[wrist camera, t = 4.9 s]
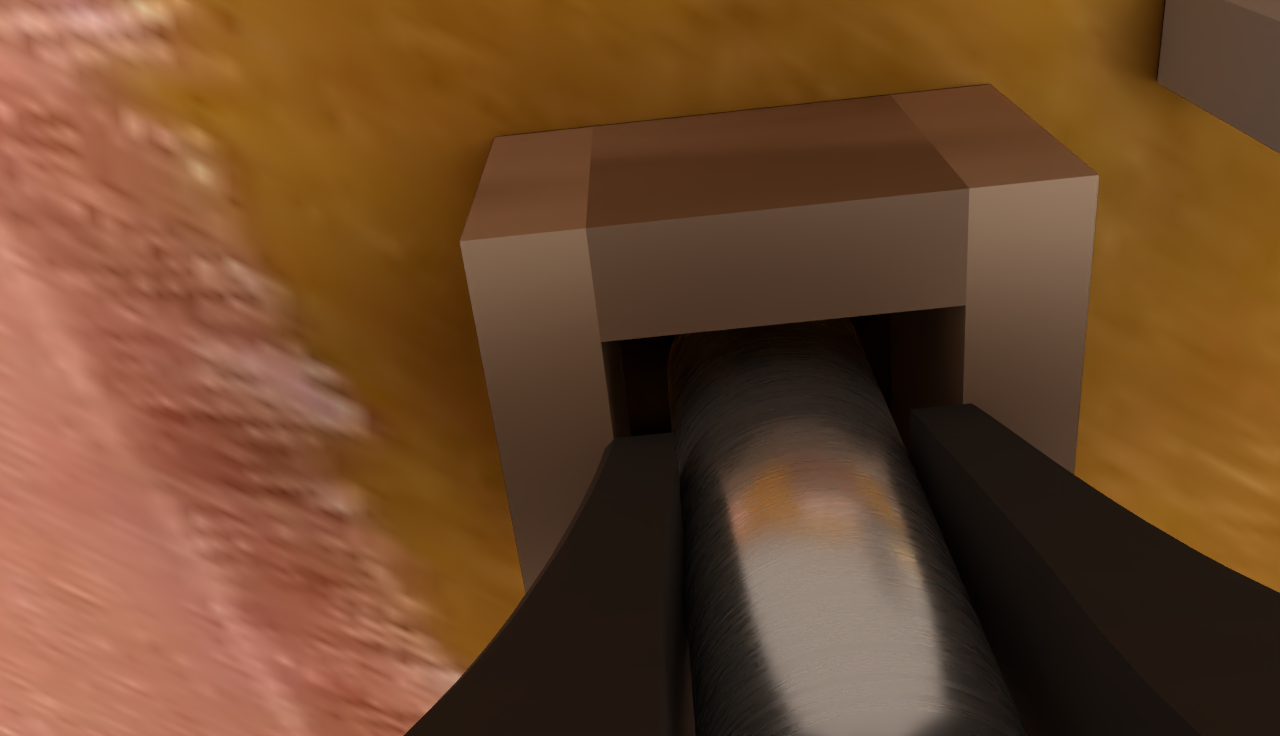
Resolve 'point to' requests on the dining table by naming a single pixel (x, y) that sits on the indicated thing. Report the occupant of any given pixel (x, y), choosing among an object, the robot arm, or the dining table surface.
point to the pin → (816, 550)
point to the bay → (1226, 61)
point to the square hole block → (776, 266)
